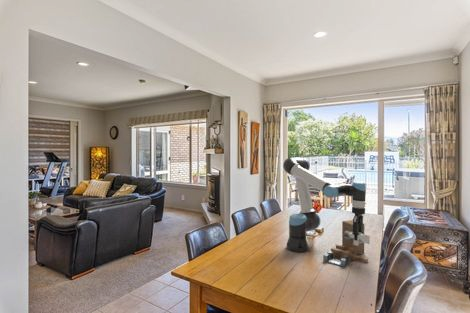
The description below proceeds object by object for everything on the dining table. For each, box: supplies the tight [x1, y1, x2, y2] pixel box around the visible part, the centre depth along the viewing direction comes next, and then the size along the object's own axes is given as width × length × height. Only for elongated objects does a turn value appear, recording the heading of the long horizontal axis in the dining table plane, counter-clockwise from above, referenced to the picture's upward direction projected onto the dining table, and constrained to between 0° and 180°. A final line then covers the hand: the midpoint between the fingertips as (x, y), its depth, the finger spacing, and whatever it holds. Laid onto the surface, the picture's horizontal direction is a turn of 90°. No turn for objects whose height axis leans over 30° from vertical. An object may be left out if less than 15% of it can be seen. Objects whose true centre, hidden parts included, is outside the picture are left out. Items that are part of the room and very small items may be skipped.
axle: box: [344, 231, 371, 245], centre depth 165 cm, size 14×5×5 cm, turn 49°
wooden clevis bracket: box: [330, 244, 369, 264], centre depth 168 cm, size 20×11×5 cm, turn 49°
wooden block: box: [341, 219, 365, 255], centre depth 179 cm, size 10×10×20 cm
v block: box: [322, 250, 351, 268], centre depth 162 cm, size 13×9×4 cm
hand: (357, 243), depth 165 cm, fingers closed on axle, 5 cm apart
